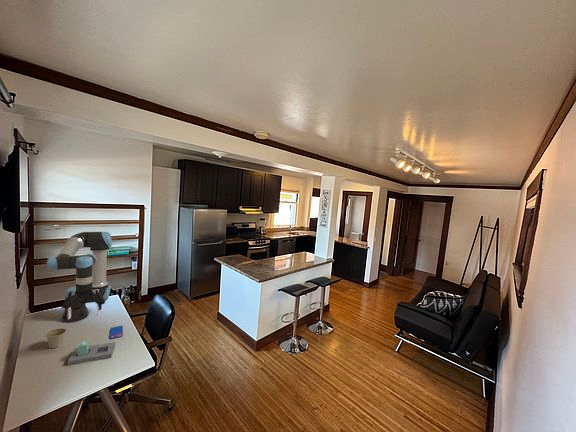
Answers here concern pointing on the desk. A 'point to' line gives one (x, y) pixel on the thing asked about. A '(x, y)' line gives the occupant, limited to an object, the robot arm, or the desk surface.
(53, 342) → the flower pot
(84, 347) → the charger
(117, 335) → the smartphone
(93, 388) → the desk surface
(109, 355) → the outlet plate
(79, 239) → the robot arm
